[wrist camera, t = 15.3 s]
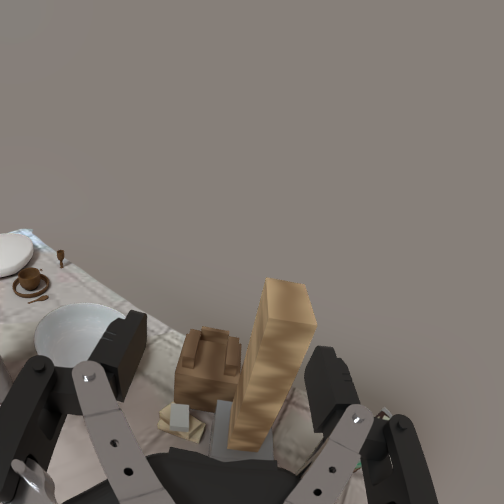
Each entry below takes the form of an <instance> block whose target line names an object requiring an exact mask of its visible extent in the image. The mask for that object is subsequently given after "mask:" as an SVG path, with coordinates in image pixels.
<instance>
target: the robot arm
mask: <svg viewBox="0 0 504 504" xmlns="http://www.w3.org/2000/svg"><path fill="white" fill-rule="evenodd" d="M146 341H147V314H146V313H142V312H138V311H134V310H130V311H129V313H128V315H127V316H126V318H125V319H122V318H117V319H115V320H114V321H112V322H111V323H110V324H109V326H108V327H107V329H106V331H105V332H104V334H103V335H102V338H100V340H99V342H98V343H97V345H96V347H95V348H94V350H93V352H92V353H91V355H90V357H89V358H88V360H87V361H82V362H80V363H78V364H77V365H75V367H73V368H68V367H58V366H54V364H53V362H52V360H51V359H50V358H48V357H46V356H43V355H37V356H33V357H31V358H30V359H29V360H28V361H27V362H26V364H25V365H24V367H23V368H22V370H21V372H20V373H19V375H18V377H17V378H16V380H15V381H14V383H13V384H12V380H11V377H10V375H9V373H8V371H7V369H6V367H5V364H4V362H3V360H2V358H1V355H0V403H2V404H1V406H0V504H58V503H57V501H56V499H55V494H54V492H55V485H54V482H53V480H52V478H51V477H50V475H49V474H48V473H47V469H48V466H49V463H50V460H51V457H52V454H53V451H54V448H55V445H56V443H57V440H58V437H59V435H60V432H61V429H62V427H63V424H64V422H65V419H66V417H67V414H72V415H83V418H84V421H85V424H86V427H87V430H88V433H89V436H90V438H91V441H92V444H93V446H94V449H95V451H96V454H97V456H98V458H99V461H100V463H101V465H102V468H103V470H104V472H105V474H106V476H107V479H106V480H104V481H103V482H101V483H99V484H97V485H95V486H94V487H92V488H90V489H88V490H86V491H84V492H82V493H80V494H79V495H77V496H75V497H73V498H71V499H69V500H67V501H65V502H63V503H62V504H335V502H336V500H337V499H338V497H339V496H340V494H341V492H342V491H343V489H344V487H345V485H346V484H347V482H348V480H349V478H350V477H351V475H352V473H353V471H354V469H355V467H356V465H357V463H358V462H359V460H361V466H362V471H363V476H364V482H365V488H366V494H367V500H368V504H438V501H437V497H436V493H435V489H434V486H433V482H432V479H431V476H430V473H429V469H428V466H427V463H426V460H425V457H424V454H423V451H422V448H421V445H420V442H419V439H418V436H417V433H416V431H415V428H414V425H413V423H412V421H411V420H410V419H409V418H408V417H406V416H404V415H400V414H396V415H394V416H392V417H391V418H390V419H389V420H385V419H380V418H376V417H373V414H372V412H371V411H370V410H369V409H368V408H367V407H365V406H363V405H361V404H360V401H359V398H358V395H357V392H356V389H355V386H354V384H353V382H352V378H351V376H350V372H349V370H348V367H347V365H346V364H345V363H344V361H343V360H342V359H341V358H337V357H336V354H335V351H334V349H333V347H326V346H317V347H316V348H315V350H314V352H313V354H312V356H311V358H310V361H309V362H308V364H307V366H306V369H305V375H304V379H305V385H306V390H307V395H308V401H309V406H310V412H311V417H312V423H313V428H314V433H323V436H324V437H323V438H322V440H321V441H320V442H319V444H318V445H317V447H316V448H315V449H314V451H313V452H312V454H311V455H310V456H309V458H308V459H307V461H306V462H305V463H304V465H303V466H302V467H301V468H300V469H299V470H298V472H297V473H296V474H293V473H292V472H290V471H288V470H286V469H283V468H280V467H277V460H258V459H248V460H240V461H231V462H222V461H219V460H216V459H213V458H211V457H208V456H205V455H203V454H200V453H198V452H193V451H188V450H183V449H178V448H173V447H170V450H169V453H157V454H152V455H148V456H144V454H143V452H142V450H141V448H140V446H139V445H138V443H137V441H136V439H135V437H134V435H133V433H132V431H131V429H130V426H129V424H128V422H127V420H126V418H125V416H124V414H123V412H122V410H121V409H120V408H119V406H118V404H117V402H116V400H117V401H120V402H124V400H125V397H126V394H127V392H128V389H129V387H130V384H131V382H132V379H133V377H134V374H135V372H136V369H137V367H138V365H139V362H140V360H141V357H142V355H143V353H144V350H145V347H146ZM389 455H390V456H389ZM390 458H391V460H390ZM391 461H392V464H391ZM392 465H393V468H392Z"/></svg>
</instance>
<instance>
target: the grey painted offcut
mask: <svg viewBox="0 0 504 504" xmlns="http://www.w3.org/2000/svg"><path fill="white" fill-rule="evenodd" d="M170 430H171V431H180V432H189V405H183V404H174V403H171V413H170Z"/></svg>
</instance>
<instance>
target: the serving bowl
mask: <svg viewBox="0 0 504 504" xmlns="http://www.w3.org/2000/svg"><path fill="white" fill-rule="evenodd" d="M117 318H122V319H125V318H126V316H125V315H123V314H122V313H120V312H119V311H117V310H115V309H113V308H111V307H108V306H105V305H101V304H95V303H74V304H69V305H65V306H62V307H59V308H57V309H55V310H53V311H51V312H50V313H48V314H47V315H46V316H45V317H44V318H43V319H42V320H41V321H40V322H39V324H38V326H37V328H36V330H35V334H34V345H35V348H36V351H37V353H38V355H43V356H46V357H48V358H50V359H51V360H52V362H53V364H54V366H58V367H68V368H73V367H75V365H77V364H78V363H80V362H82V361H87V360H88V358H89V357H90V355H91V353H92V352H93V350H94V348H95V347H96V345H97V343H98V342H99V340H100V338H102V335H103V334H104V332H105V331H106V329H107V327H108V326H109V324H110V323H111V322H112V321H114V320H115V319H117Z"/></svg>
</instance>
